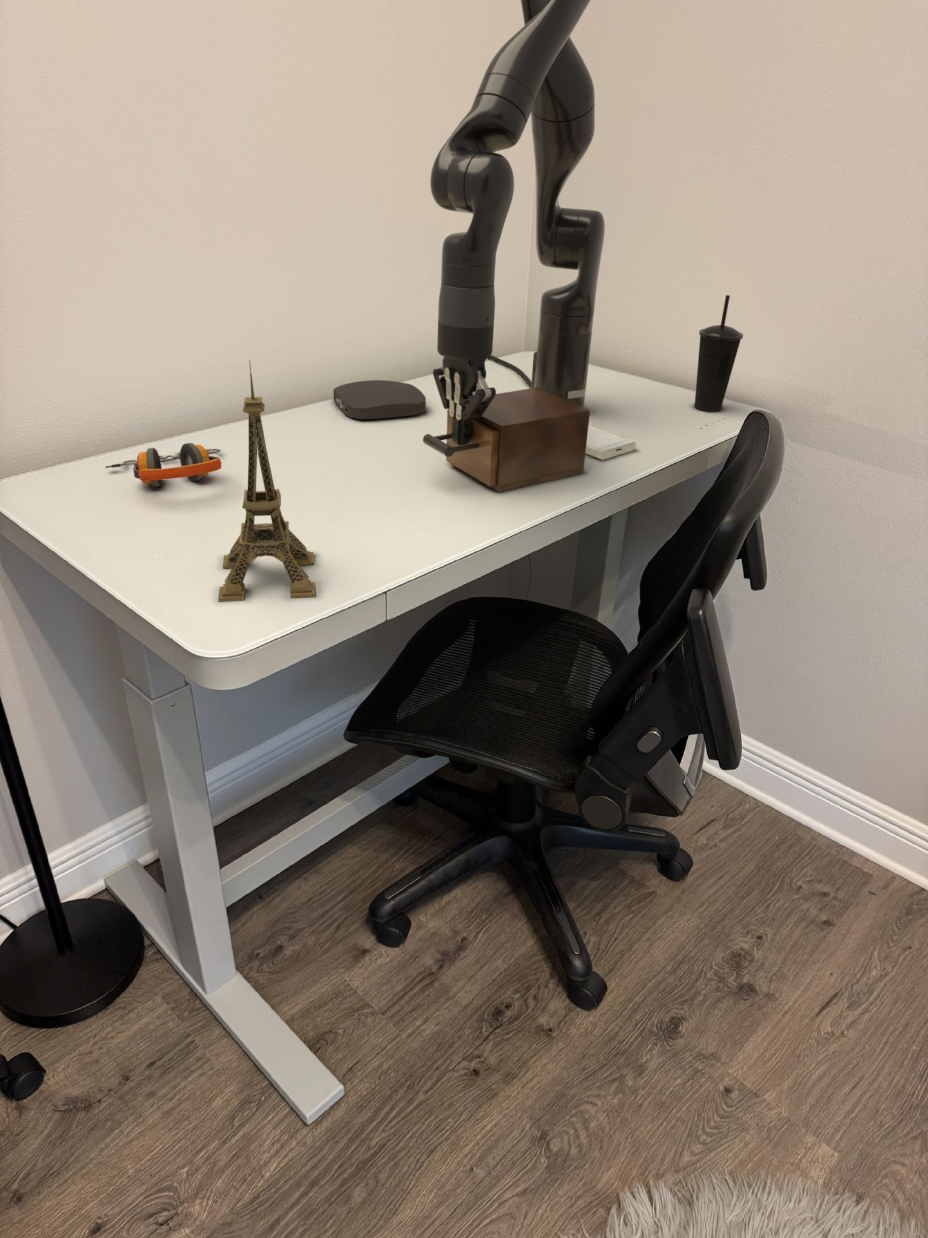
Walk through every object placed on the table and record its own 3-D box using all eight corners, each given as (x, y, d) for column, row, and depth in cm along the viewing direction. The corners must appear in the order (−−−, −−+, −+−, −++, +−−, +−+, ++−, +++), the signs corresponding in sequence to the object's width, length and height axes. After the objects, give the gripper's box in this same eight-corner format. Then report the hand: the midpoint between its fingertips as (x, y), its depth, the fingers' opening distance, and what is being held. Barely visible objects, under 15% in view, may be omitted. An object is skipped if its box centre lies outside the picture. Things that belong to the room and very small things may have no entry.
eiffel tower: (313, 554, 109) (301, 346, 96) (315, 596, 100) (302, 373, 87) (224, 557, 107) (200, 346, 94) (218, 601, 98) (190, 374, 85)
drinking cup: (734, 406, 167) (756, 295, 157) (721, 416, 161) (742, 301, 151) (695, 399, 170) (713, 289, 160) (680, 408, 165) (699, 295, 155)
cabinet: (498, 492, 128) (502, 426, 123) (450, 463, 137) (452, 400, 132) (583, 473, 135) (590, 409, 130) (532, 447, 144) (537, 387, 139)
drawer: (454, 494, 124) (456, 439, 120) (412, 467, 132) (412, 415, 128) (569, 468, 134) (574, 417, 130) (523, 444, 142) (526, 396, 138)
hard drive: (545, 429, 147) (602, 450, 139) (579, 420, 152) (636, 440, 144) (544, 439, 148) (601, 460, 140) (578, 429, 153) (634, 450, 145)
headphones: (213, 430, 138) (245, 442, 121) (219, 465, 139) (251, 481, 122) (98, 445, 131) (115, 460, 114) (105, 481, 132) (123, 501, 115)
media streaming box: (432, 415, 156) (432, 398, 155) (351, 423, 151) (351, 405, 150) (404, 391, 168) (404, 375, 166) (328, 398, 163) (327, 381, 161)
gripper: (518, 326, 117) (508, 453, 125) (462, 306, 126) (457, 425, 135) (470, 331, 113) (464, 462, 122) (416, 310, 122) (414, 433, 131)
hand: (460, 442), depth 128 cm, fingers closed
